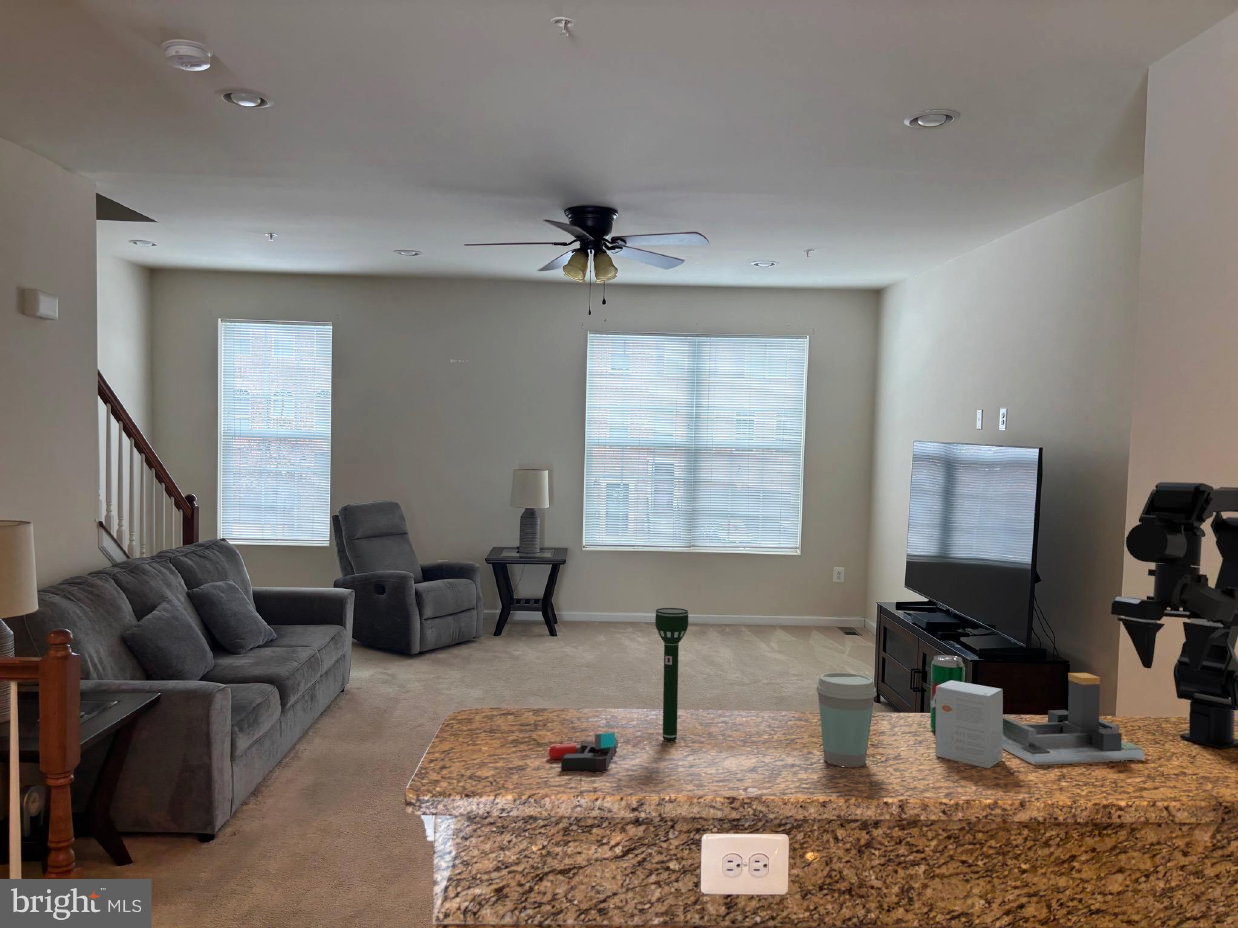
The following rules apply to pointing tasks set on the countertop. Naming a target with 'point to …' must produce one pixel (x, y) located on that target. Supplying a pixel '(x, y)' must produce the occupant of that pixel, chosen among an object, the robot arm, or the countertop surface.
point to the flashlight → (671, 663)
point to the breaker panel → (1066, 742)
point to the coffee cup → (845, 717)
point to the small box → (969, 723)
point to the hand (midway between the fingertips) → (1171, 669)
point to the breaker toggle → (1082, 703)
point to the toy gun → (586, 753)
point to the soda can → (944, 678)
